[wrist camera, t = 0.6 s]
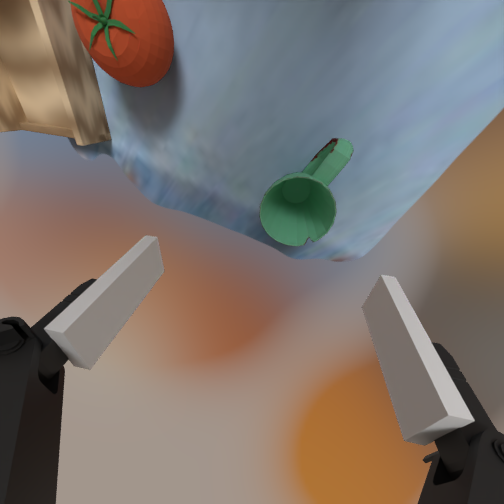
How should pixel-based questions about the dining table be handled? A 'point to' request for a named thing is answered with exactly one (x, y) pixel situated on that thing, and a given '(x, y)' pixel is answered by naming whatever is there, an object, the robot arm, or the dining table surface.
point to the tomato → (126, 38)
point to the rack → (47, 73)
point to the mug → (305, 198)
